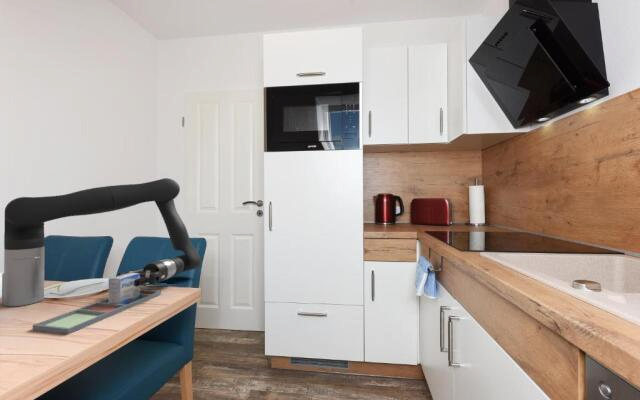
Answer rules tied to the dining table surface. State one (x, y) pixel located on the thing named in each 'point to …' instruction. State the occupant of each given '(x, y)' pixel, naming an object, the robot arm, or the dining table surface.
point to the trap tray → (97, 309)
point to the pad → (72, 320)
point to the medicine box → (124, 289)
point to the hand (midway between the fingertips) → (123, 282)
